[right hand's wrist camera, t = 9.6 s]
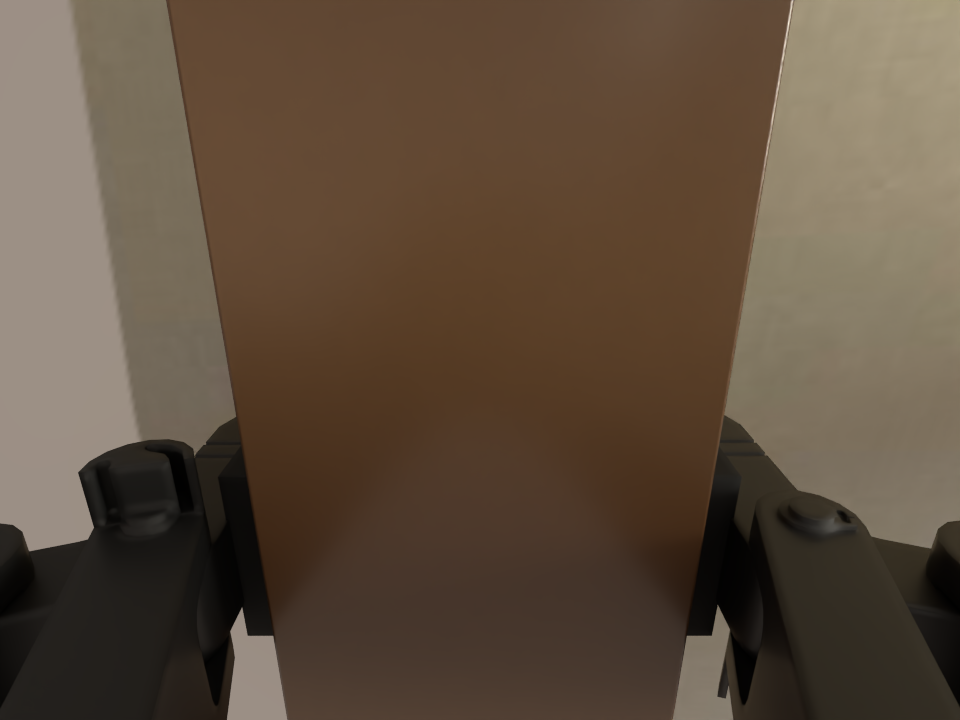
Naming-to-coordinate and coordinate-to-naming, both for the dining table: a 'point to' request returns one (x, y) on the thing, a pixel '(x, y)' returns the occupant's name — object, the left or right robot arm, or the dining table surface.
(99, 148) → the dining table surface
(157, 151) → the dining table surface
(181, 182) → the dining table surface
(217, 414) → the dining table surface
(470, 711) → the bar
